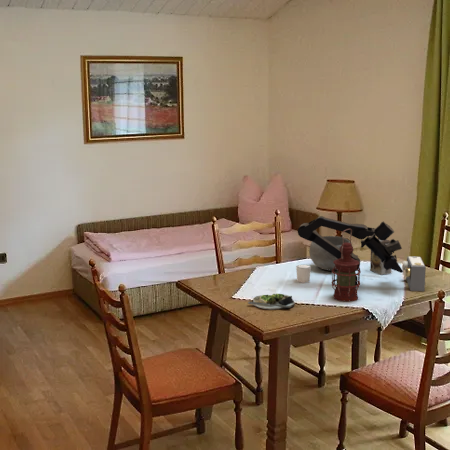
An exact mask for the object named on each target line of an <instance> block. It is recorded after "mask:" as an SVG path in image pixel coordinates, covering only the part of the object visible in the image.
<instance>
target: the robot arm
mask: <svg viewBox="0 0 450 450" xmlns="http://www.w3.org/2000/svg"><path fill="white" fill-rule="evenodd" d="M321 227H324V228H327V229H332V230H334V231H335V230H336V231H339V232H342V233H343V231H344V230H346V229H349V230H346V231H344V233H346V234H348V235H351V237H353V238H356V239H358V240H360V243H361V245H360V247H361V249H362V248H363V247H365V246H366V247H367V248H368V249H369V251H370V252H371V251H372V252H373V253H374V255H375V256H377V257H378V258H379V259H380V260H381V262H382V263H383V267H384V268H385V269H386V270H388V269H389V268H390V269H392V270H393V271H395V272H398V273H400V274H401V273H403V272H404V270H403V268H402V267H401V266H400V264H399V263H398V258H397V255H396V254H394V253H395V252H397V251H400V250H402V249H403V248H402V245H401V243H400V240H396V239H395V238H392V239H390V240H389V241H390V243H389V244H388V245H385V244H383V243H382V242H381V241H380V240H384V241H385V240H388V238H389V237H391V236H392V235H393V234H394V233H395V231H394V229H393V228H392V226H390V225H389V224H388V223H386V222H385V221H383V220H382V221H381V223H380V224H378V226H377V227H369V226H367V225H365V224H363V223H348V222H344V221H340V220H335V219H332V218H328V217H325V216H323V215H320V216H318V217H316V218H314V219H313V220H310V221H309V222H303V223H301V224H300V225H299V227H298V229H297V234H298V237H300V238H302V239H304V240H306V241H309V242H314V243H316V244H317V245H319V246H320V247H321V248H323V249H324V250H326V251H327V252H329V253H330V254H332V255H333V256H335V257H336V258H337V259H339V258H341V252H340V248H338V247H337V246H335V245H334V244H332V243H331V242H329V241H328V240H326V239H325V238H324V236H322V235H321V234H320V233H319V232H318V231H317V230H318V229H319V228H321ZM350 229H351V230H352V234H351V230H350ZM377 238H379V239H380V240H378V239H377ZM393 254H394V255H393ZM391 255H392V256H391ZM342 256H343V255H342ZM351 258H353V259H354V260H357V261H359V265H358V267H359V268H361V267H360V265H361V259H360V258H359V255H357V254H355V253H354V252H353V253H352V256H351ZM358 267H357V269H358V270H359V268H358ZM357 272H358V271H357V270H355V274H357ZM355 280H357V281H358V275H355ZM357 284H358V282H356V281H355V286H356V285H357ZM355 288H356V289H357V287H355Z"/></svg>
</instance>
